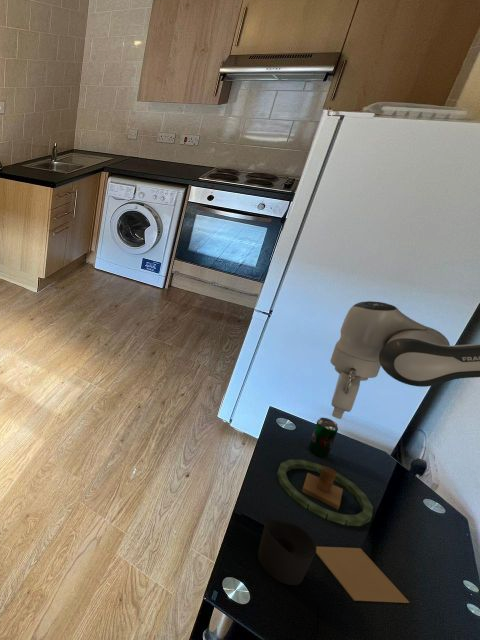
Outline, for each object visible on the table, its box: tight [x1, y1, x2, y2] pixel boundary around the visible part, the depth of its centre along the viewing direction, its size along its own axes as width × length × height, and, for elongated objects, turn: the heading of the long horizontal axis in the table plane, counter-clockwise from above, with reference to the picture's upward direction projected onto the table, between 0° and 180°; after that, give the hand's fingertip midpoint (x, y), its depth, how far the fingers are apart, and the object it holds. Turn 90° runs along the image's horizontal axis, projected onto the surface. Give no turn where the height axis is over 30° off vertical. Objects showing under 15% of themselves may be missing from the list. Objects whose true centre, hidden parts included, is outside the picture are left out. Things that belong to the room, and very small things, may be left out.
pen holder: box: [257, 517, 317, 586], centre depth 94 cm, size 9×9×10 cm
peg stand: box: [301, 465, 344, 511], centre depth 115 cm, size 8×8×8 cm
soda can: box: [308, 417, 339, 458], centre depth 129 cm, size 5×5×12 cm
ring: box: [276, 458, 374, 527], centre depth 116 cm, size 21×21×2 cm
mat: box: [315, 545, 410, 604], centre depth 95 cm, size 12×12×1 cm
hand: (338, 408), depth 105 cm, fingers open, 8 cm apart
